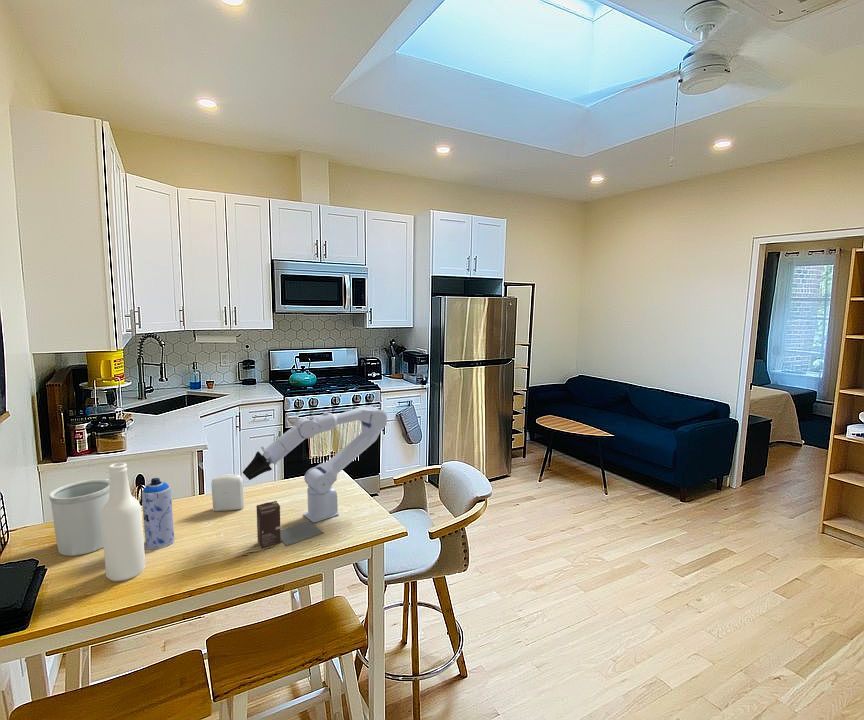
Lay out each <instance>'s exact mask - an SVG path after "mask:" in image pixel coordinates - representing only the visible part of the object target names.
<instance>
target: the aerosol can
mask: <svg viewBox="0 0 864 720" xmlns="http://www.w3.org/2000/svg"><path fill="white" fill-rule="evenodd" d="M172 501H173V500H172V488H171V486H170V485H169V483H167V482H165V481H162V480H161V478H159V477H153V478H151V480H150V483H148V484H147V485H146V486H145V487H144V488H143V489H142V491H141V504H142V519H143V532H144V540H145V541H144V549H145V548H146V549H147V550H160V549H164V548H166V547H168V546H170V545H172V544H173V543H174V542H175V540H176V538H175V530H174V518H173V502H172Z"/></svg>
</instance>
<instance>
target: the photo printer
mask: <svg viewBox="0 0 864 720" xmlns="http://www.w3.org/2000/svg"><path fill="white" fill-rule="evenodd" d="M244 496H245V493H244V481H243V477H242V475H239V474H233V473H226V474H219V475H217V476H214V477H212V479H211V498H212V509H213V511H214V512H221V511H235V510H236V511H237V510H242V509H244V508H245V499H244Z"/></svg>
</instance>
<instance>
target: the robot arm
mask: <svg viewBox="0 0 864 720" xmlns="http://www.w3.org/2000/svg"><path fill="white" fill-rule="evenodd" d="M356 421H357V422H358V421H360V424H361V433H360V434H359V435H357V436H356V437H355V438H354V439H352V440H351V442H349V443H348V444H347V445H345V446H344V447H343V448H341V450H339V451H338V452H337V453H336V454H334V455H333V456H332V457H331V458H330V459H329V460H328V461H325V462H322V463H319V464H318V465H316V466H314V467H311V468H309V469H308V470H307V471H306V472H305V473H304V482H305V483H306V485H307V493H306V494H307V511H306V512H303V516H304V517H305V518H307V519H308V521H310V522H311V523H312V524H314V523H318V522H320V521H323V520H327V519H330V518H332V517H336V516H339V514H340V513H339V511H338V505H339V504H338V494H337V493H338V492H337V490H336V488H335V487H334V486H333V484H335V483H336V481H337V480H338V474H339V473H340V472H341V471H342V470H343V469H345V468H346V467H348V465H350V463H352V462H353V461H355V459H357V457H359V456H360V455H361V454H362V453H363V452H365V451H366V450H367V449H368V448H369V447H371V446H372V444H374V443H375V442H376V441H377V440H378V438H379V435H380V434H381V432H382V430H383V429H384V428H385V427H386V426H387V424H388V415H387V413H386V411H385V410H382V409H379V408H376V407H374V406H372V405H368V404H367V405H365V406H359V407H357V408H354V409H350V410H347V411H343V412H340V413H337V414H333V413H332V412H328V411H324V412H323V413H322V414H319V415H310V416H309V417H308V418H307V417H300V418H296V419H295V420H294V422H293V424H292V427H290V429H288V430H287V431H285V432H284V433H283V434H282V435H281V436H279V437H278V438H277V439H275V440H274V441H273V442H272V443H270V444H269V445H268V446H267V447H266V448H265V447H264V446H261V447H260V449H261V450H262V452H263V453H261V452H259V450H258V451H257V452H256V453H255V455H254V457H253V459H252V460H251V462H249V464H248V465H247V466H246V467H245V468H244V469H243V471H242V474H243V475H244V476H245V478H247V479H248V480H249V481H251V480H253V479H255V478H256V477H258V476H260V475H261V474H264V473H266V472H270V471H273V468H272V467H271V465H272V464H273V465H274V466H276V465H277V464H278V462H279V461H281V460H283V458H285V457H286V456H287V455H288V454H289V453H290V452H291V451H293V450H294V449H295V448H296V447H297V446H299V445H300V444H301V443H303V441H304V440H306V439H312V438H314V437H315V436H316V435H317V434H320V433H324V432H328V431H332V430H335V428H336V427H337V426H338V425H341V424H347V423H351V422H356Z"/></svg>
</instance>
